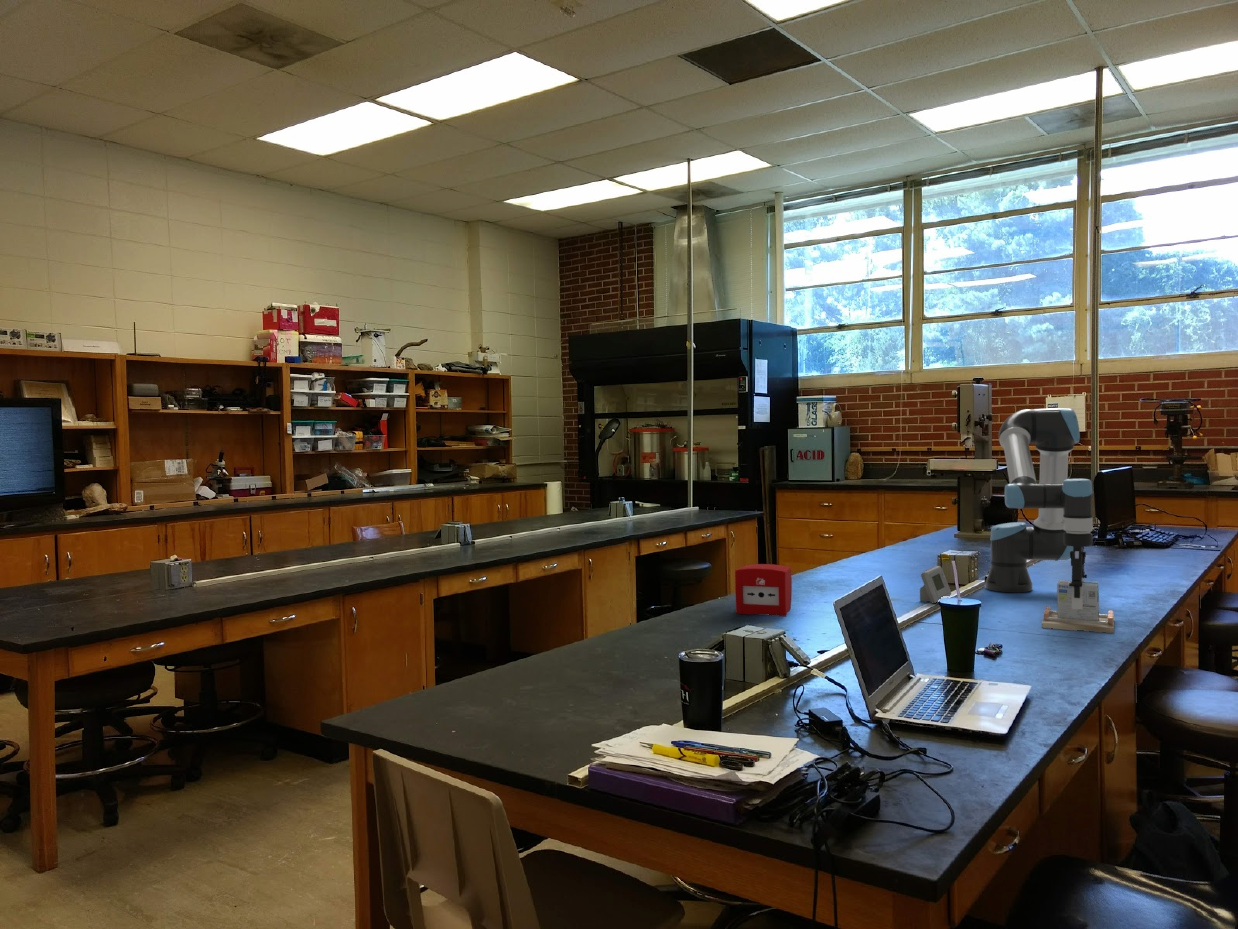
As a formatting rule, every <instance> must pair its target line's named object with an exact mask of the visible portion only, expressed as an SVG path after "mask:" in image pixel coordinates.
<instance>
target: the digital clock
mask: <svg viewBox="0 0 1238 929" xmlns="http://www.w3.org/2000/svg"><path fill="white" fill-rule="evenodd" d="M920 577H921V580H922V583H923V585H922V586H921V587H920V589H919V601H920V600H921V601H920V602H924V601H931V602H933V603H936V602H937V603H936V604H939V603H938V600H939V599H941V597H943V596H949V597H951V595H952V591H951V589H950V586H949V584H948V580H947V579H946V576H945V573H944V570H943V568H942V566H940V565H935V566H933V567H932V566H931V567H930V568H928V569H926V570H924V571H923V572H921V573H920ZM931 602H930V603H931ZM933 603H932V604H933Z"/></svg>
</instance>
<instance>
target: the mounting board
mask: <svg viewBox="0 0 1238 929" xmlns="http://www.w3.org/2000/svg"><path fill="white" fill-rule="evenodd" d="M1050 617H1056V618H1058V614H1050ZM1098 621H1108V618H1101V617H1099V620H1098ZM1041 628H1042V629H1051V628H1053V630H1066V631H1077V630H1084V631H1083V632H1089V631H1095V632H1094V633H1102V632H1106V633H1105V634H1114V633H1115V632H1114V631H1115V630H1114V629H1115V615H1114V614H1113V625H1103V624H1090V623H1076V622H1063V621H1050V620H1044V617H1043V619H1042V621H1041Z"/></svg>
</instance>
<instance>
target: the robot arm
mask: <svg viewBox="0 0 1238 929" xmlns="http://www.w3.org/2000/svg"><path fill="white" fill-rule="evenodd" d="M1080 438H1081V434H1080V427H1079V421H1078V417H1077V414H1076V412H1075V410H1074V409H1072V408H1063V407H1055V408H1054V407H1053V408H1034V409H1033V408H1031V409H1028V408H1027V409H1026V408H1025V409H1021V410H1018V411H1016V412H1014V413H1011V415H1009V416H1008V417H1007V418H1006V419H1005V420H1004V421H1003V423H1002V424H1001V427H1000V428H999V432H998V441H999V444H1000V447H1001V448H1002V449H1003V452H1004V456H1005V463H1006V468H1007V476H1008V480H1009V483H1007V484H1005V485H1004V504H1005V506H1006V507H1007V508H1009V509H1019V510H1023V509H1038V517H1037V518H1035V519H1034V520H1033V526H1028V525H1027V523H1026V522H1022V521H1021V522H1020V521H1019V522H1015V521H1014V522H1007V523H1006V522H1005V523H999V524H996V525H994V526H992V527H991V530H990V538H989V540H990V568H989V571H988V574H987V578H986V580H985V589H987V590H990V591H993V592H1001V593H1026V592H1031V591H1033V582H1032V578H1031V576H1030V574H1029V571H1028V567H1027V564H1028V563H1027V561H1055V562H1059V561H1068V560H1069V559H1070V566H1071V581H1072V582H1071V583H1069V586H1072V609H1082V610H1083V587H1082V581H1083V582H1085V579H1087V577H1088V574H1086V573H1085V563H1086V557H1087V551H1084V549H1085V548H1087V547H1091V546H1093V542H1094V541H1093V540H1094V539H1093V533H1091V532H1093V530H1094V529H1093V525H1094V524H1093V493H1094V491H1093V485H1092V484H1093V483H1092V480H1091V479H1088V478H1068V477H1069V476H1068V470H1069V453H1071V452H1072V451H1073V450H1074V448H1075V447H1074V446H1075V445H1074V444H1078V443H1079V442H1080ZM1029 444H1035V450H1037V451H1038V452H1039V482H1038V483H1037V478H1036V473H1035V469H1034V464H1033V460H1032V455H1031V450H1030V445H1029Z"/></svg>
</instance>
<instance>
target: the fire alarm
mask: <svg viewBox="0 0 1238 929" xmlns="http://www.w3.org/2000/svg"><path fill="white" fill-rule="evenodd" d="M734 571H735V572H734V577H735V578H734V580H735V582H734V585H735V589H734V590H735V610H736V611H735V613H736V614H737V615H738V614H739V615H753V614H769V615H768V616H772V615H779V616H778V617H787V616H786V615H788V613H789V612H790V611H791V610H790V609H792V594H793V593H792V592H793V590H792V589H793V586H792V584H793V580H792V567H791V566H786V565H780V564H771V563H767V564H766V563H756V564H755V563H754V564H753V563H752V564H749V565H748V564H747V565H743V566H741V567H739V568H738V569H735V570H734ZM789 610H790V611H789ZM788 611H789V612H788Z"/></svg>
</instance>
